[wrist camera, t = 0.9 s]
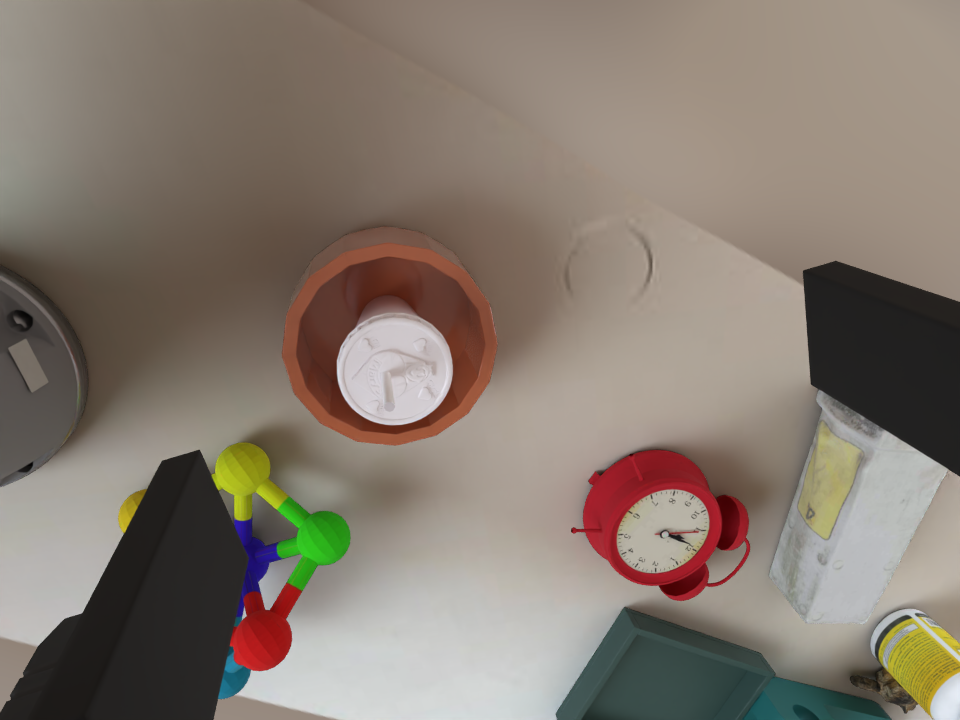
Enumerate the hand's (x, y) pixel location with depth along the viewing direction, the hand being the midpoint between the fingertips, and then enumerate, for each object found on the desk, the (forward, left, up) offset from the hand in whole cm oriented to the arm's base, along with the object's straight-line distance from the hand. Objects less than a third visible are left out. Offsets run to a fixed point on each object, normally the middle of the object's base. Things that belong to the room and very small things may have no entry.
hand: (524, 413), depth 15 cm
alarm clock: (+24, -21, -33) cm, 46 cm away
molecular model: (-8, -25, -33) cm, 42 cm away
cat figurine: (+52, -34, -31) cm, 69 cm away
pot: (0, -8, -33) cm, 34 cm away
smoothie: (0, -8, -33) cm, 34 cm away
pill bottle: (+51, -31, -33) cm, 68 cm away
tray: (+29, -38, -33) cm, 58 cm away
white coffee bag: (+38, -17, -33) cm, 53 cm away
